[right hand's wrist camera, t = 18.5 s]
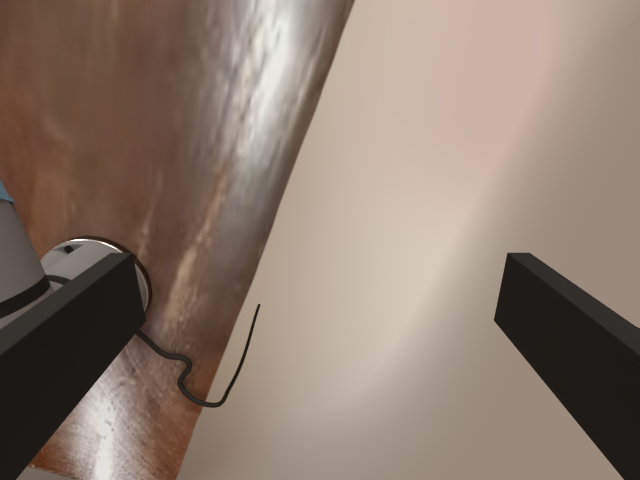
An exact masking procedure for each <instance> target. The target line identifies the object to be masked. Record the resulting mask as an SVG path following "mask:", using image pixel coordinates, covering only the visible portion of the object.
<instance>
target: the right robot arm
mask: <svg viewBox="0 0 640 480" xmlns="http://www.w3.org/2000/svg"><path fill="white" fill-rule="evenodd" d="M14 204H15V201H14V200H13V198H11V197H9V195H8V193H7V192H6V190H5V188H4V186H3V184H2V182H1V180H0V480H16V479H17V478H18V476H19V475H20V474H21V473H22V471H23V470H24V469H25V468H26V467H27V465H28V464H29V463H30V462H31V460H32V459H33V458H34V457H35V456H36V454H37V453H38V452H39V451H40V449H41V448H42V447H43V446H44V445H45V443H46V442H47V441H48V440H49V438H50V437H51V436H52V435H53V434H54V432H55V431H56V430H57V429H58V427H59V426H60V425H61V424H62V423H63V421H64V420H65V419H66V418H67V416H68V415H69V414H70V413H71V412H72V410H73V409H74V408H75V407H76V405H77V404H78V403H79V402H80V401H81V399H82V398H83V397H84V396H85V394H86V393H87V392H88V391H89V390H90V388H91V387H92V386H93V385H94V383H95V382H96V381H97V380H98V379H99V377H100V376H101V375H102V374H103V372H104V371H105V370H106V369H107V368H108V366H109V365H110V364H111V363H112V361H113V360H114V359H115V358H116V357H117V355H118V354H119V353H120V352H121V350H122V349H123V348H124V347H125V346H126V344H127V343H128V342H129V341H130V339H131V338H132V337H133V336H134V334H136V335H137V336H139V337H140V338H141V339H142V340H143V341H145V342H146V343H147V344H148V345H149V346H150V347H151V348H152V349H153V350H154V351H155V352H157V353H158V354H159V355H161V356H163V357H165V358H167V359H173V360H182V361H184V362H185V363H186V364H187V368H186V370H185V371H184V372H183V373H182V374H181V376H180V377H179V379H178V387H179V389H180V390H181V392H182V393H183V394H184V395H185V396H186V397H187V398H188V399H189V400H191V401H192V402H194V403H196V404H198V405H201V406H205V407H212V408H215V407H219V406H221V405H222V404H223V403H224V402H225V401H226V399H227V397H228V394H229V392H230V390H231V389H232V387H233V385H234V383H235V381H236V379H237V377H238V375H239V373H240V370H241V368H242V365H243V363H244V360H245V357H246V354H247V350H248V347H249V344H250V340H251V337H252V333H253V329H254V325H255V322H256V318H257V315H258V311H259V308H260V304H258V306H257V308H256V311H255V315H254V318H253V321H252V325H251V328H250V332H249V336H248V339H247V342H246V346H245V349H244V352H243V355H242V358H241V361H240V363H239V365H238V368H237V370H236V372H235V374H234V376H233V379H232V380H231V382H230V384H229V386H228V388H227V389H226V391H225V393H224V396H223V398H222V399H221V401H219V402H217V403H209V402H205V401H202V400H199V399H197V398H196V397H194V396H193V395H191V394H190V393H189V392H188V391H187V390H186V389H185V387H184V386H183V383H182V381H183V379H184V378H185V377H186V376H187V374H188V373H189V372H190V370H191V368H192V363H191V361H190V360H189V359H188V358H187V357H185V356H182V355H172V354H168V353H166V352H164V351H163V350H161V349H160V348H159V347H158V346H157V345H156V344H155V343H154V342H153V341H152V340H151V339H149V338H148V337H147V336H146V335H145V334H144V333H142V332H141V331H140V330H139V328H140V327H141V326H142V325H143V323H144V322H145V321H146V318H145V312H146V311H147V309H148V307H149V304H150V301H151V294H152V291H151V283H150V280H149V277H148V274H147V272H146V270H145V269H144V267H143V266H142V264H141V263H140V262H139V260H138V259H137V258H136V257H135V256H134V255H133V253H131V252H129V251H128V250H127V249H125V248H124V247H122V246H121V245H119V244H117V243H115V242H112V241H110V240H107V239H104V238H99V237H92V236H82V237H76V238H72V239H69V240H67V241H65V242H63V243H61V244H59V245H57V246H56V247H54V248H53V249H51V250H50V251H49V252H48V253H47V254H46V255H45V256H44V257H43V258H42V259H41V261H40V260H39V258H38V256H37V254H36V251H35V249H34V247H33V245H32V243H31V241H30V239H29V237H28V234H27V232H26V230H25V228H24V226H23V224H22V222H21V219H20V217H19V215H18V213H17V211H16V209H15V207H14ZM494 321H495V322H496V323H497V325H498V326H499V327H500V328H501V330H502V331H503V332H504V333H505V334H506V336H507V337H508V338H509V339H510V341H511V342H512V343H513V344H514V346H515V347H516V348H517V349H518V350H519V352H520V353H521V354H522V355H523V357H524V358H525V359H526V360H527V361H528V363H529V364H530V365H531V366H532V367H533V369H534V370H535V371H536V372H537V374H538V375H539V376H540V377H541V379H542V380H543V381H544V382H545V383H546V385H547V386H548V387H549V388H550V390H551V391H552V392H553V393H554V394H555V396H556V397H557V398H558V399H559V401H560V402H561V403H562V404H563V405H564V407H565V408H566V409H567V410H568V412H569V413H570V414H571V415H572V416H573V418H574V419H575V420H576V421H577V423H578V424H579V425H580V426H581V427H582V429H583V430H584V431H585V432H586V434H587V435H588V436H589V437H590V438H591V440H592V441H593V442H594V443H595V445H596V446H597V447H598V448H599V449H600V451H601V452H602V453H603V454H604V456H605V457H606V458H607V459H608V460H609V462H610V463H611V464H612V465H613V467H614V468H615V469H616V470H617V471H618V473H619V474H620V475H621V476H622V478H623V479H624V480H640V328H638V327H636V326H634V325H633V324H631V323H630V322H628V321H627V320H626V319H624V318H623V317H621V316H620V315H618V314H617V313H615V312H614V311H613V310H611V309H610V308H608V307H607V306H605V305H604V304H602V303H601V302H600V301H598V300H597V299H595V298H594V297H592V296H591V295H589V294H588V293H587V292H585V291H584V290H582V289H581V288H579V287H578V286H577V285H575V284H574V283H572V282H571V281H569V280H568V279H566V278H565V277H563V276H562V275H561V274H559V273H558V272H556V271H555V270H553V269H552V268H551V267H549V266H548V265H546V264H545V263H543V262H542V261H540V260H539V259H538V258H536V257H535V256H533V255H532V254H530V253H507V258H506V263H505V268H504V273H503V278H502V283H501V288H500V293H499V298H498V303H497V308H496V313H495V318H494Z"/></svg>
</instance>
